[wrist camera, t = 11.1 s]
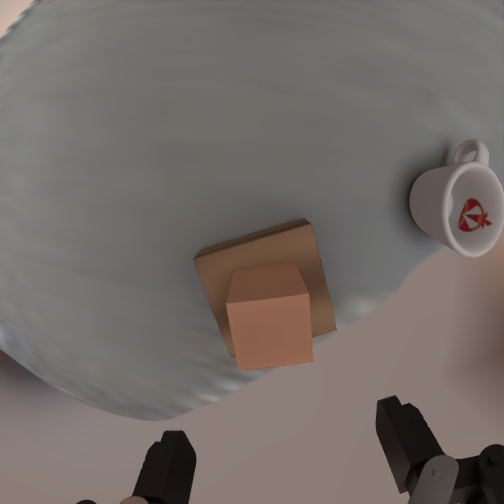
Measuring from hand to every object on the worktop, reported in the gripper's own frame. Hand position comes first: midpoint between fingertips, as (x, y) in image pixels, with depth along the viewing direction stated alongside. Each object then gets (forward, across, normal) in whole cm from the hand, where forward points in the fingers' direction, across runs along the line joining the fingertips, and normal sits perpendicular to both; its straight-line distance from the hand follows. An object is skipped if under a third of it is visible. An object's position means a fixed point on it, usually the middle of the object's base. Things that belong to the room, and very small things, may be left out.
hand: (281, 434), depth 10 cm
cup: (+19, -19, -6) cm, 28 cm away
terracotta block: (+15, 0, 0) cm, 15 cm away
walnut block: (+19, 0, 0) cm, 19 cm away
